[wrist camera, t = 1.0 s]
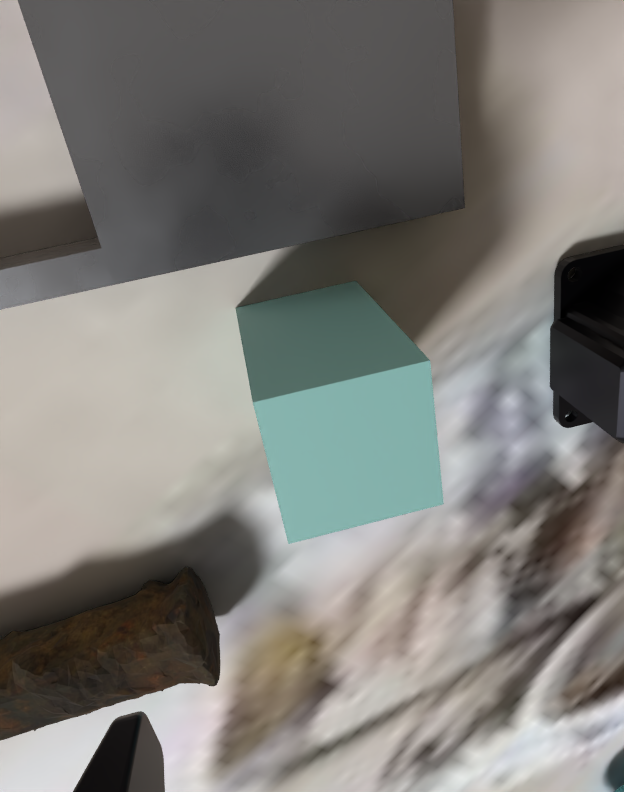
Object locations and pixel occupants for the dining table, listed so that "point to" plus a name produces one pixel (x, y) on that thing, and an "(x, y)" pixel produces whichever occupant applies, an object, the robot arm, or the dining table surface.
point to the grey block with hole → (240, 128)
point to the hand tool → (109, 655)
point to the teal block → (340, 410)
